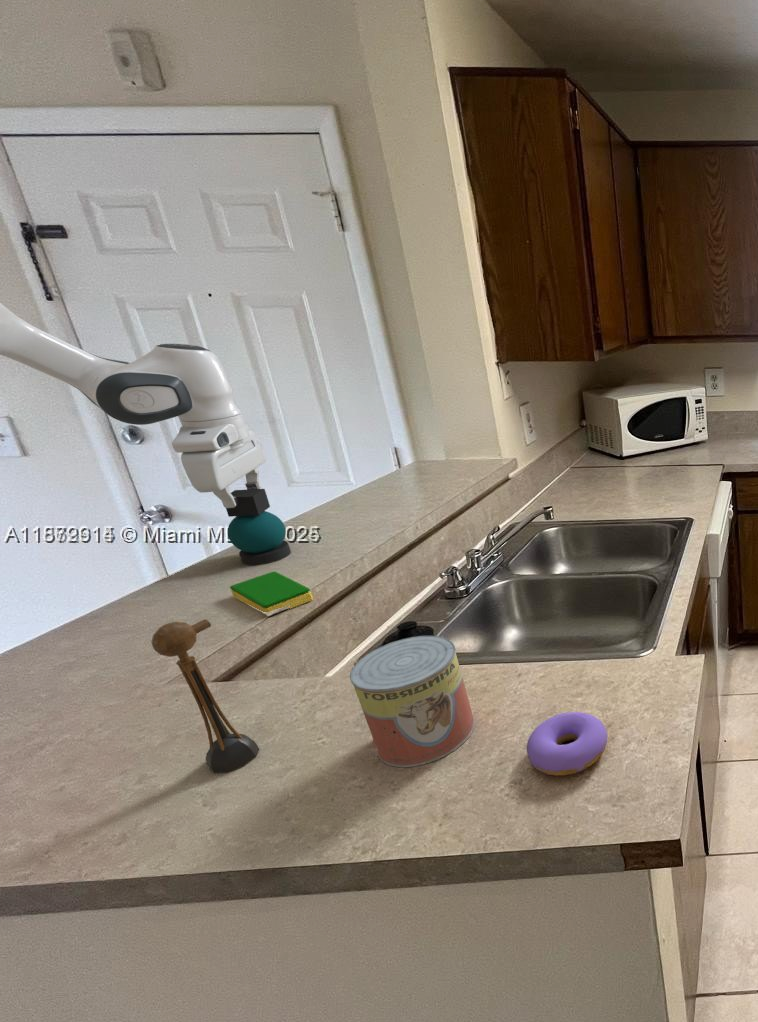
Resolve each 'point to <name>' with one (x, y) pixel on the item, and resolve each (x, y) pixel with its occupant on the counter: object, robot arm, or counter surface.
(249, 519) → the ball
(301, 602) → the dish sponge
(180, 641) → the wooden tabletop sculpture
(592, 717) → the donut
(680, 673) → the counter surface
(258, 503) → the block
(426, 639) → the canned food
